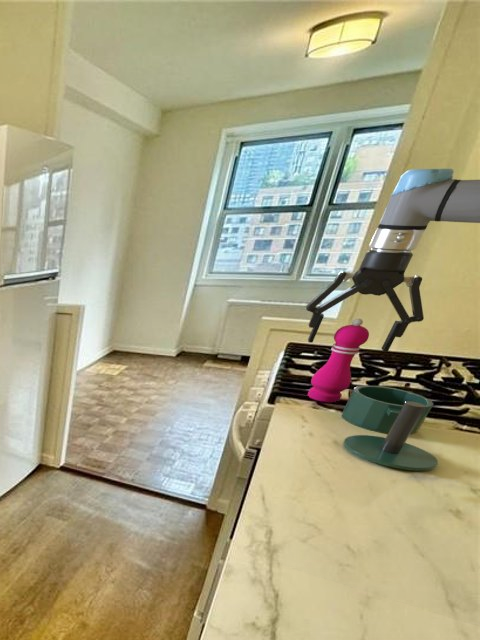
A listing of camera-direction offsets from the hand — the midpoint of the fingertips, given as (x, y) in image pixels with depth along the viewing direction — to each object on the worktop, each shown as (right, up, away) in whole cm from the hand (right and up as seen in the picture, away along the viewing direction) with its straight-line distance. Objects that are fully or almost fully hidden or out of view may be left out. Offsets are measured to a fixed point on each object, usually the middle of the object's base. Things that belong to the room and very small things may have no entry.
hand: (346, 345), depth 115 cm
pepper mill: (+1, -12, +7) cm, 14 cm away
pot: (+1, -19, -6) cm, 20 cm away
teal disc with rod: (-10, -26, -19) cm, 34 cm away
